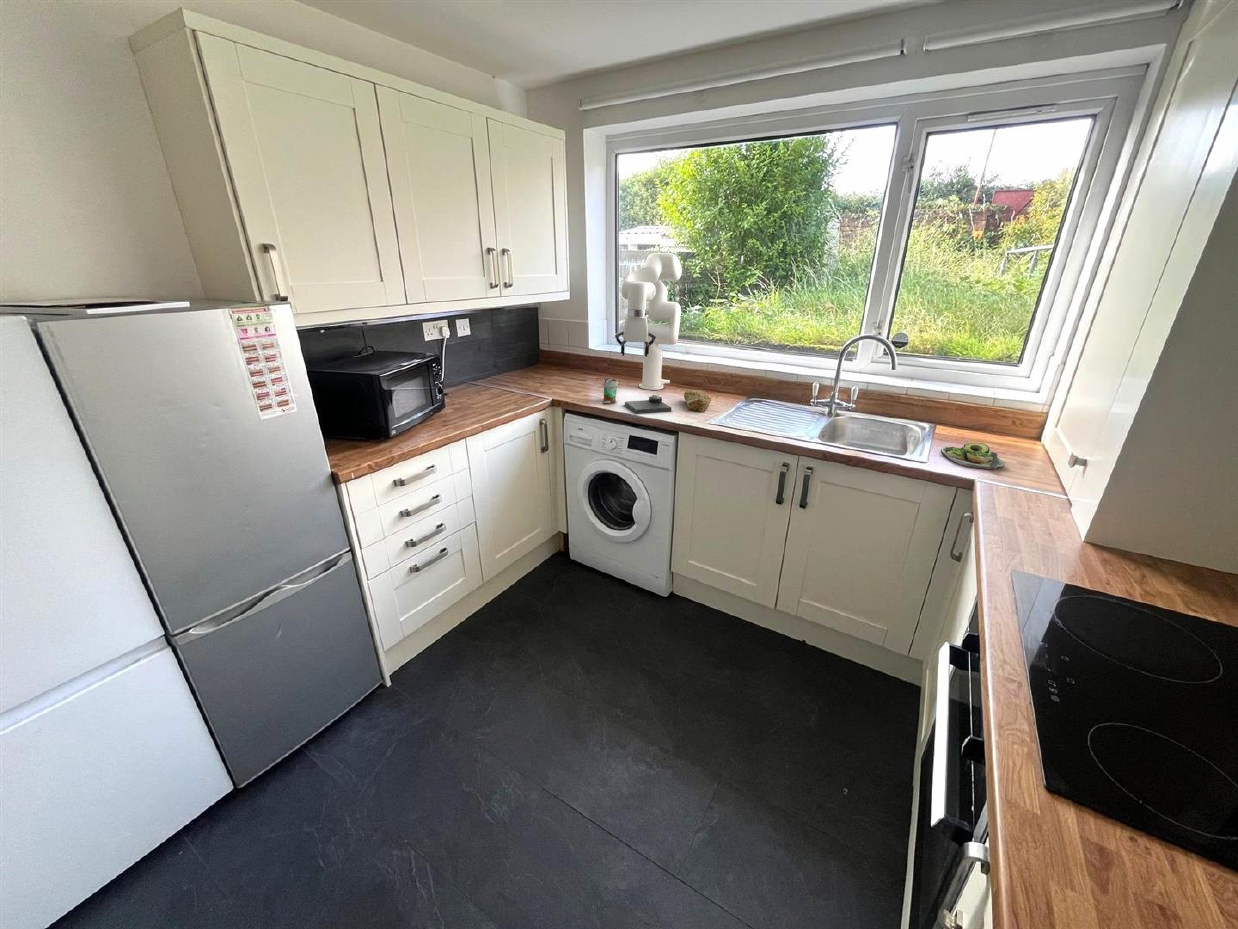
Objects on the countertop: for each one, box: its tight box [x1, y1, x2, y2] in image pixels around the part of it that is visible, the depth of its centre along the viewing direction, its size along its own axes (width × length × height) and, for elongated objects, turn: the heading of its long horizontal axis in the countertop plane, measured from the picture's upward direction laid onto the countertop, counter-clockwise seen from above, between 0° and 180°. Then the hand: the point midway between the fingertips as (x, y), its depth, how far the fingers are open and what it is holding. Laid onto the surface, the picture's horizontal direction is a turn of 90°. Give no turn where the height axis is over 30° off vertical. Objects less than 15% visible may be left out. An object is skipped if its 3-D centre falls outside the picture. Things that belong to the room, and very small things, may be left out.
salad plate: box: [940, 442, 1007, 470], centre depth 165 cm, size 19×18×5 cm
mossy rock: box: [683, 389, 712, 412], centre depth 221 cm, size 13×8×20 cm
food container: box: [603, 377, 619, 406], centre depth 222 cm, size 12×6×10 cm, turn 179°
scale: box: [624, 395, 672, 415], centre depth 215 cm, size 16×14×4 cm
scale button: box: [651, 393, 660, 399], centre depth 220 cm, size 3×3×2 cm
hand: (634, 355), depth 212 cm, fingers open, 9 cm apart
